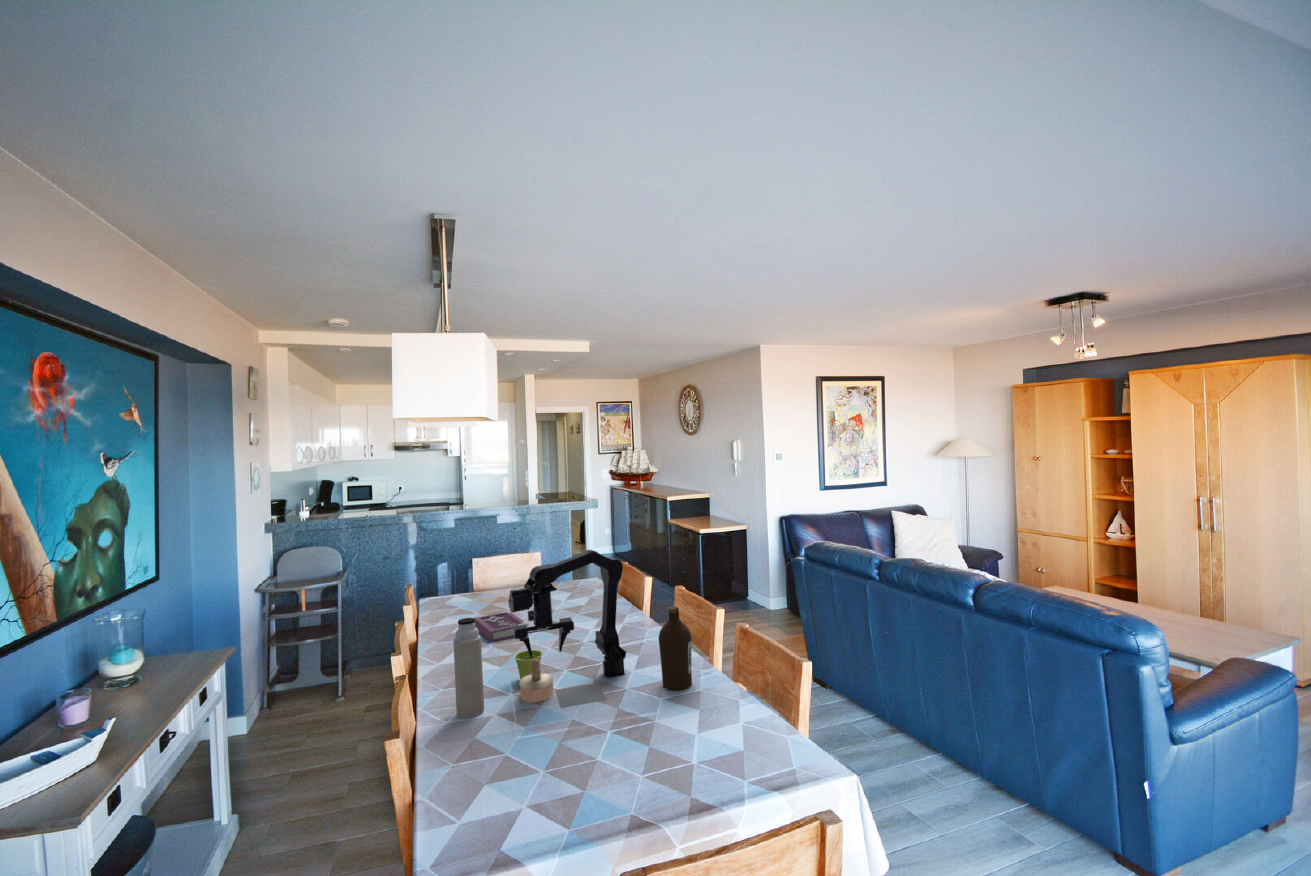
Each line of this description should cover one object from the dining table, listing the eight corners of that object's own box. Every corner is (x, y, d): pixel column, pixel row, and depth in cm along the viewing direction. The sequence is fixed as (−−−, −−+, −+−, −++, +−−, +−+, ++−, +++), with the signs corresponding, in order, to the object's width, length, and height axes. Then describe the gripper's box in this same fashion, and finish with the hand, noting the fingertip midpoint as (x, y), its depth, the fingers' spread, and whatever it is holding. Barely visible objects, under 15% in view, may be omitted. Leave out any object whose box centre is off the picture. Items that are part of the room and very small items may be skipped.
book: (528, 635, 251) (528, 623, 251) (491, 643, 242) (490, 631, 242) (509, 621, 273) (509, 610, 273) (474, 628, 264) (474, 617, 264)
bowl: (550, 688, 192) (550, 674, 192) (554, 700, 183) (554, 686, 183) (519, 693, 190) (518, 679, 190) (521, 706, 180) (521, 691, 180)
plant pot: (537, 686, 195) (535, 660, 195) (510, 685, 197) (509, 659, 197) (547, 675, 204) (546, 650, 204) (522, 674, 206) (521, 649, 206)
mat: (597, 684, 194) (597, 682, 194) (606, 701, 180) (606, 699, 180) (555, 691, 190) (555, 689, 190) (560, 709, 176) (560, 707, 176)
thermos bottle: (467, 705, 183) (463, 614, 183) (489, 707, 180) (485, 616, 180) (450, 716, 175) (446, 622, 175) (473, 719, 172) (469, 623, 173)
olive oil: (661, 692, 185) (657, 613, 185) (660, 679, 195) (656, 604, 196) (695, 690, 185) (691, 611, 186) (692, 677, 196) (688, 602, 196)
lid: (550, 674, 193) (549, 652, 193) (555, 686, 183) (554, 663, 183) (518, 679, 190) (517, 657, 190) (520, 692, 180) (519, 668, 180)
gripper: (567, 596, 201) (570, 642, 201) (511, 604, 195) (514, 651, 195) (572, 604, 190) (576, 652, 190) (513, 613, 184) (516, 662, 184)
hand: (545, 654), depth 190 cm, fingers open, 9 cm apart
